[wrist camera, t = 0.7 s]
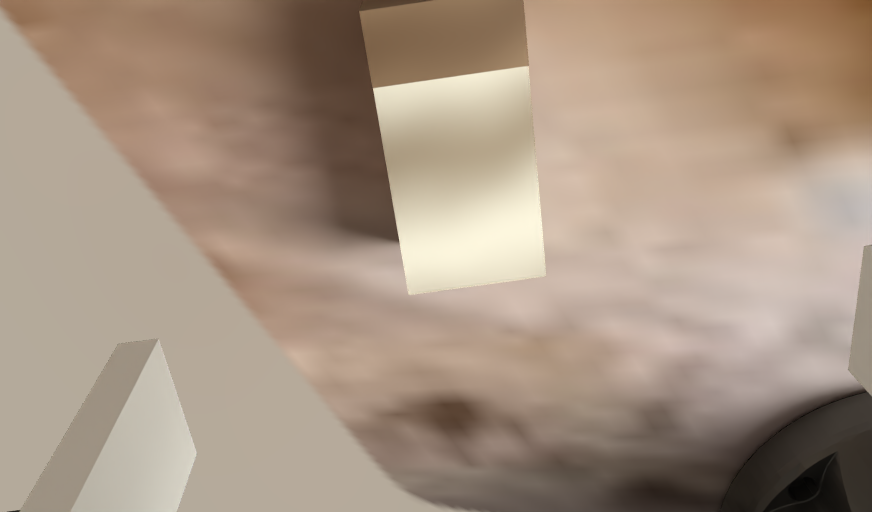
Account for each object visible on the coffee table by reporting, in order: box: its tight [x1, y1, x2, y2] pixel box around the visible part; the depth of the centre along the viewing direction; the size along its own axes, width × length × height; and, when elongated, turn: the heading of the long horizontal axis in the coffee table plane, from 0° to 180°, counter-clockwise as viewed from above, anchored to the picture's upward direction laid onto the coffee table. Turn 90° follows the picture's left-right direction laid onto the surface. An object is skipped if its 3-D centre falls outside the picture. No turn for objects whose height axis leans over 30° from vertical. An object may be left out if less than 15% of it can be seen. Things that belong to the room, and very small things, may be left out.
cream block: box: [359, 0, 546, 295], centre depth 28 cm, size 10×5×4 cm, turn 8°
